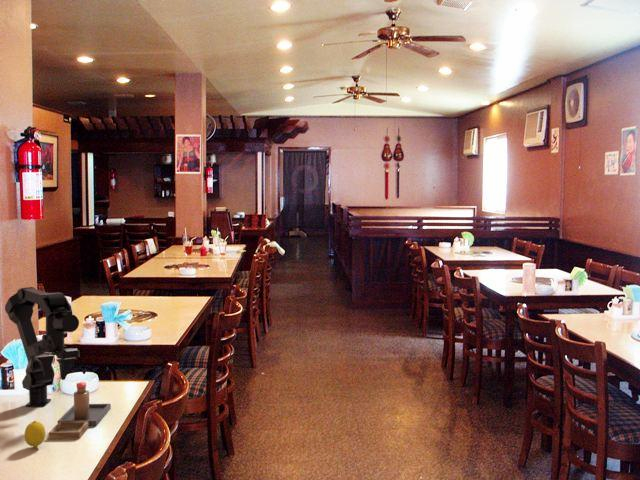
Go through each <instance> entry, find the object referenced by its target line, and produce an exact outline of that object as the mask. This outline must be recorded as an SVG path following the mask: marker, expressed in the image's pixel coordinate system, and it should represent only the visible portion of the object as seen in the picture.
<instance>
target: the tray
mask: <svg viewBox="0 0 640 480" xmlns="http://www.w3.org/2000/svg"><path fill="white" fill-rule="evenodd" d="M111 406H112V405H111V403H89V419H87V420H74V404H73V405H72V406H71V407H70V408H69V409H68V410H67V411H66V412H65V413H64V414H63V415H62V416H61V417H60V418H59V419H58V420H57V424H58V423H59V422H83V421H89V427H97V426H98V425H99V424H100V422H102V420H103V419H104V418H105V417H106V416H107V414H108V412H110V410H111V409H112V408H111Z"/></svg>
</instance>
